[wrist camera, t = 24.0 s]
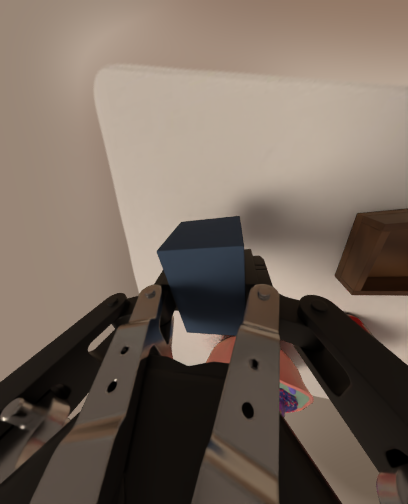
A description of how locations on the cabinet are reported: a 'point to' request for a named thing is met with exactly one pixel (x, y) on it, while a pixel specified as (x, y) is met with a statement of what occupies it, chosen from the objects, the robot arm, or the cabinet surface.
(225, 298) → the blue block
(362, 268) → the wooden divided tray
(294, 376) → the cell model
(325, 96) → the cabinet surface
